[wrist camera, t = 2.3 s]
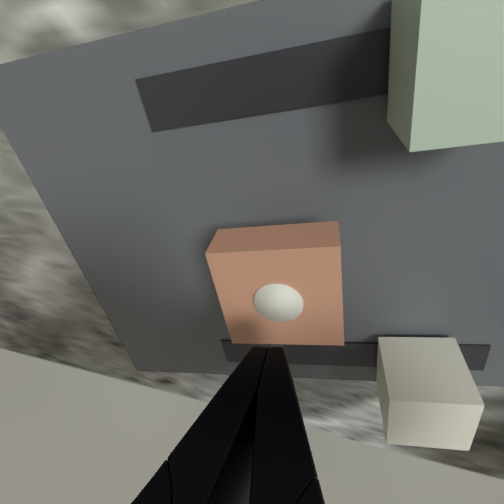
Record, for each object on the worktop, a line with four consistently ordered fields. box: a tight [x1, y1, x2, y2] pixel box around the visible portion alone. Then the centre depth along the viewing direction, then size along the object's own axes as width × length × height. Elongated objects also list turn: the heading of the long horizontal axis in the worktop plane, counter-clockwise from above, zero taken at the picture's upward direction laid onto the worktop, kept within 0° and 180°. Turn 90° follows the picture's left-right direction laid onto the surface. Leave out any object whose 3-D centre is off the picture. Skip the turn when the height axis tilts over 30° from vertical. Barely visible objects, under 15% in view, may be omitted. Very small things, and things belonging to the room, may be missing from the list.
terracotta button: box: [205, 221, 344, 346], centre depth 11 cm, size 4×4×2 cm
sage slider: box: [387, 0, 504, 152], centre depth 7 cm, size 3×3×3 cm
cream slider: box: [376, 337, 485, 451], centre depth 13 cm, size 3×3×3 cm
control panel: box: [0, 0, 504, 387], centre depth 14 cm, size 20×16×2 cm
